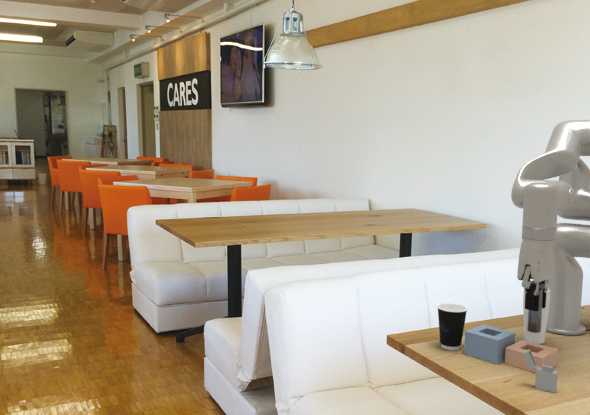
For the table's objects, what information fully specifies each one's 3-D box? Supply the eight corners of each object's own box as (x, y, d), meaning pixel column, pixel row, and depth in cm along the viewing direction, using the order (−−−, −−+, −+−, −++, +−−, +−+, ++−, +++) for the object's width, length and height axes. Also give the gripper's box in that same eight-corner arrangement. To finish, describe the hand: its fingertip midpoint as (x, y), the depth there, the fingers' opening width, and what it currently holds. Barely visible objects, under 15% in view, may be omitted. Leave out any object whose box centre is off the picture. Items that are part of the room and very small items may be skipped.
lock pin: (529, 327, 135) (532, 280, 134) (545, 330, 132) (547, 283, 131) (522, 330, 133) (525, 282, 131) (538, 334, 130) (540, 285, 128)
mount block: (521, 354, 139) (522, 339, 139) (557, 365, 132) (558, 349, 132) (504, 363, 133) (505, 347, 133) (541, 374, 126) (542, 358, 126)
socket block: (482, 346, 145) (483, 324, 144) (514, 355, 138) (515, 332, 138) (464, 353, 139) (465, 331, 139) (496, 364, 132) (498, 340, 132)
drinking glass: (550, 347, 145) (553, 292, 144) (523, 344, 146) (526, 290, 145) (544, 338, 152) (547, 286, 150) (518, 336, 153) (521, 284, 152)
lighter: (556, 390, 118) (558, 354, 117) (555, 393, 117) (557, 357, 116) (522, 382, 122) (524, 347, 121) (520, 384, 121) (522, 350, 120)
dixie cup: (468, 345, 146) (470, 305, 144) (462, 354, 139) (464, 312, 138) (439, 340, 149) (440, 301, 148) (431, 348, 142) (433, 308, 141)
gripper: (538, 228, 138) (534, 298, 140) (507, 236, 127) (504, 312, 129) (569, 232, 132) (564, 305, 134) (539, 240, 121) (535, 319, 124)
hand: (535, 307), depth 132 cm, fingers closed on lock pin, 3 cm apart
